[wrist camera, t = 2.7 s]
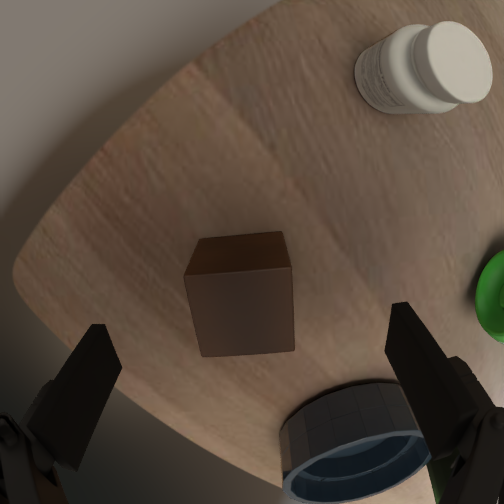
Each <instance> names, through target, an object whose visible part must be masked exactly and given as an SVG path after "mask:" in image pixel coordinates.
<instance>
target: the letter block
mask: <svg viewBox="0 0 504 504" xmlns="http://www.w3.org/2000/svg"><path fill="white" fill-rule="evenodd" d="M183 277H184V282H185V287H186V291H187V296H188V301H189V305H190V310H191V314H192V318H193V323H194V327H195V331H196V335H197V339H198V344H199V348H200V352H201V356H202V357H221V356H239V355H254V354H267V353H279V352H290V351H294V350H295V337H294V306H293V282H292V266H291V262H290V259H289V255H288V251H287V247H286V244H285V240H284V236H283V233H282V232H281V231H280V232H269V233H258V234H247V235H236V236H225V237H214V238H204V239H199V241H198V244H197V246H196V248H195V250H194V253H193V255H192V257H191V260H190V262H189V264H188V267H187V269H186V271H185V274H184V276H183Z"/></svg>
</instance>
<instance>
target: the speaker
mask: <svg viewBox="0 0 504 504" xmlns="http://www.w3.org/2000/svg"><path fill="white" fill-rule="evenodd" d="M475 309H476V314H477V318H478V320H479V323H480V324H481V326H482V328H483V329H484V330H485V331H486V332H487V333H488V334H489V335H490V336H491V337H492V338H494V339H495V340H497V341H498V342H500V343H502V344H504V250H502V251H500V252H498V253H497V254H496V255H495V256H493V257H492V258H491V260H490V261H489V262H488V263H487V265H486V266H485V267H484V269H483V271H482V273H481V275H480V278H479V281H478V284H477V289H476V295H475Z"/></svg>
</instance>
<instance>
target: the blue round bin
mask: <svg viewBox="0 0 504 504" xmlns="http://www.w3.org/2000/svg"><path fill="white" fill-rule="evenodd" d="M280 458H281V473H282V488H283V491H284V492H285V493H286V494H287V495H288V496H289V497H290V498H291V499H294V500H296V501H299V502H302V503H309V504H339V503H345V502H351V501H356V500H361V499H364V498H367V497H370V496H374V495H377V494H379V493H382V492H384V491H386V490H389V489H391V488H393V487H395V486H397V485H399V484H400V483H402V482H404V481H405V480H407V479H408V478H410V477H411V476H413V475H414V474H416V473H417V472H418V471H419V470H420V469H422V468H423V467H424V466H425V465H426V464H427V463H428V462H429V460H430V459H431V458H432V457H431V454H430V452H429V449H428V447H427V444H426V442H425V439H424V437H423V435H422V432H421V430H420V428H419V425H418V423H417V421H416V418H415V416H414V414H413V411H412V409H411V407H410V405H409V402H408V400H407V398H406V396H405V394H404V391H403V389H402V387H401V386H400V385H398V384H392V383H371V384H364V385H358V386H352V387H348V388H345V389H343V390H340V391H337V392H334V393H330V394H327V395H325V396H323V397H321V398H319V399H317V400H315V401H314V402H312V403H310V404H308V405H306V406H304V407H303V408H302V409H301V410H299V411H298V412H297V413H296V414H295V415H293V416H292V417H291V418H290V419H289V420H288V421H287V422H286V424H285V426H284V427H283V429H282V431H281V432H280Z"/></svg>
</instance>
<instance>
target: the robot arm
mask: <svg viewBox="0 0 504 504" xmlns="http://www.w3.org/2000/svg"><path fill="white" fill-rule="evenodd" d="M385 354H386V356H387V358H388V360H389V362H390V364H391V366H392V368H393V370H394V372H395V374H396V376H397V379H398V381H399V383H400V385H401V387H402V389H403V391H404V394H405V396H406V398H407V400H408V402H409V405H410V407H411V409H412V411H413V414H414V416H415V418H416V421H417V423H418V425H419V428H420V430H421V432H422V435H423V437H424V439H425V442H426V444H427V447H428V449H429V452H430V454H431V457H432V459H433V461H435V460H438V459H441V458H444V457H446V456H449V455H451V454H452V452H453V451H454V449H455V448H456V446H457V448H458V450H459V452H460V454H459V455H458V456H457V458H456V459H455V460H454V462H453V463H452V465H451V466H450V468H453V470H452V473H451V475H450V478H449V480H448V482H447V485H446V487H445V490H444V492H443V494H442V496H441V499H440V501H439V503H438V504H496V503H497V500H498V497H499V500H498V504H504V408H503V407H496V406H495V405H494V404H493V402H492V400H491V399H490V397H489V396H488V394H487V393H486V391H485V390H484V388H483V387H482V385H481V384H480V382H479V381H477V378H476V376H475V375H474V373H472V370H471V369H470V368H469V366H468V365H467V363H466V362H464V361H463V360H462V359H460V358H459V357H457V356H454V357H451V358H447V357H446V355H445V354H444V352H443V351H442V349H441V348H440V347H439V345H438V344H437V342H436V341H435V339H434V338H433V336H432V335H431V334H430V332H429V331H428V329H427V328H426V327H425V325H424V324H423V322H422V321H421V320H420V318H419V317H418V315H417V314H416V313H415V311H414V310H413V309H412V307H411V306H410V305H409V303H408V302H401V303H394V304H392V308H391V315H390V322H389V328H388V334H387V340H386V345H385ZM121 370H122V365H121V363H120V361H119V358H118V356H117V354H116V351H115V349H114V346H113V344H112V341H111V339H110V336H109V334H108V331H107V328H106V326H105V324H92V325H91V326H90V327H89V329H88V330H87V332H86V333H85V334H84V336H83V337H82V339H81V340H80V342H79V343H78V345H77V346H76V348H75V349H74V350H73V352H72V353H71V355H70V356H69V358H68V359H67V361H66V362H65V364H64V366H63V367H62V368H61V370H60V372H59V373H58V375H57V376H56V378H55V379H54V380H50V381H49V382H48V383H46V384H45V385H44V386H43V387H42V388H41V390H40V391H39V393H38V395H37V397H36V398H35V399H34V401H33V404H31V406H30V407H29V409H28V411H27V412H26V414H25V416H24V417H23V419H22V420H21V422H20V424H19V426H18V425H17V423H16V422H15V421H14V419H13V418H12V417H11V416H10V415H9V414H8V413H5V412H2V413H0V504H69V503H68V501H67V498H66V496H65V493H64V491H63V488H62V485H61V482H60V480H59V477H58V474H57V471H56V469H55V467H54V466H53V463H54V461H55V460H56V461H57V462H58V464H60V466H61V467H62V468H65V469H68V470H72V471H75V472H77V471H78V468H79V466H80V463H81V461H82V458H83V456H84V453H85V451H86V448H87V446H88V443H89V441H90V439H91V436H92V434H93V432H94V429H95V427H96V425H97V422H98V420H99V418H100V416H101V413H102V411H103V409H104V407H105V404H106V402H107V400H108V398H109V395H110V393H111V391H112V389H113V387H114V385H115V382H116V380H117V378H118V376H119V374H120V372H121ZM453 466H454V467H453Z"/></svg>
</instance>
